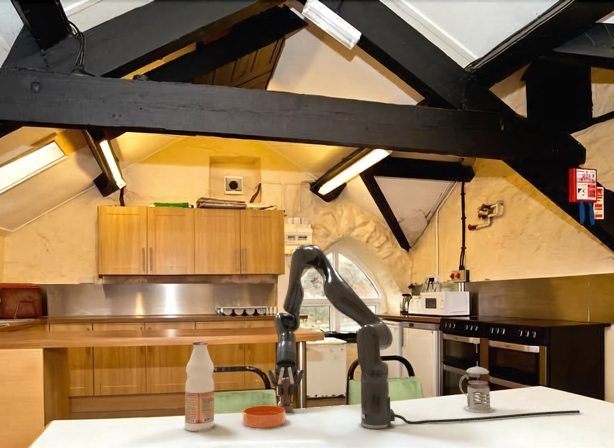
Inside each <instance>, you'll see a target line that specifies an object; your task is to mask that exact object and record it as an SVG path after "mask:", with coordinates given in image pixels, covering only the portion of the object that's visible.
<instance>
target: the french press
mask: <svg viewBox="0 0 614 448" xmlns="http://www.w3.org/2000/svg"><path fill="white" fill-rule="evenodd" d="M473 344H474V345H475V347H476V348H475V349H476V352H478V344H480V341H479V340H478V339H477V340H476V339H475V340H474V341H473ZM478 363H479V362H476V366H473V367H469V368H468V369H466V373H467V374H464V375H462V376H461V377H460V379H459V382H458V383H459V384H458V385H459V390H460V392H461V393H462V394H464V395H465V396H466V403H467V406H466V407H465V408H464V409H465V411H468V412H472V413H476V414H477V413H478V414H489V413H492V412H494V409H493V408H492V407H491V399H490V398H491V396H490V395H491V394H490V393H491V392H490V391H491V390H490V386H489V382H488V381H484V380H478V379H477V380H474V379H473V380H469V377H468V374H472V375H477V377H479V375H488V374H489V373H490V371H489V370H488V369H487V368H484V367H481V366H478ZM465 378H466V380H469V381H468V382H467V383H468V385H467V387H466V388H467V393H465V392H464V391H463V388H462V387H461V384H462V382H463V380H464V379H465Z"/></svg>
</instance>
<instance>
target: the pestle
mask: <svg viewBox="0 0 614 448" xmlns="http://www.w3.org/2000/svg"><path fill="white" fill-rule="evenodd" d="M281 383H282V397H281V402H280V403H278V406H279V407H282V408H284V409H285V414H289V413H293V412H294V404H293V403H292V402H291V397H290V379H289V378H287V377H284V378H283V379H282V381H281Z"/></svg>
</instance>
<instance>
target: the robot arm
mask: <svg viewBox="0 0 614 448" xmlns="http://www.w3.org/2000/svg"><path fill="white" fill-rule="evenodd" d="M291 253H292V254H291V258H290V266H289V276H288V277H289V278H288V286H287V290H286V294H285V298H284V301H283V305H282V309H283V311H285V312H278V313H277V314H275V316H274V318H273V325H274V328H275V332H276V336H277V348H276V362H275V363H276V364H275V365H276V366H275V367H274V369H273V370H271V369H269V370H268V372H267V373H268V377H269V380H270V382H271V384H272V386H273V387H276V388H277V395H278V396H279V397H281V398H282V383H281V381H282V379H283V378H284V377H287V378H289V379H290V398H291V397H292V396H294V393H295V392H294V391H295V390H294V389H295V387H299V385H300V384H301V381H302V379H303V378H304V376H305V371H304V369H301V370H300V369H298V367H297V346H296V345H297V343H296V342H297V341H296V339H297V337H296V332H297V331H298V330H299V329H300V326H301V317H300V316H301V307H302V305H303V302H304V298H305V291H304V287H303V283H302V275H303V273H304V271H307V270H315V271H316V272H317V273H318V274H319V275H320V277H321V279H322V287H323V294H324V296H325V297H326V299H327V300H328V301H329V303H330V304H331V305H332V306H333V308H335V309H336V311H338V312H339V313H341V314H342V315H344V316H346V318H349V320H350V319H351V320H352V321H353V322H354V323H356V324H357V325H358V326H359V328H358V330H357V332H356V333H357V335H356V350H357V352H356V353H357V362H358V365H359V368H360V426H362V427H363V428H366V429H371V430H372V429H373V430H380V429H388V428H392V422H396V418H398V419H400V420H402V421H403V422H404V423H406V424H409V425H421V424H432V423H433V424H434V423H435V424H436V423H455V422H456V423H457V422H471V421H485V420H486V421H487V420H497V419H508V418H520V417H521V418H522V417H532V416H547V415H563V414H565V415H566V414H580V413H581V411H580V410H579V409H576V410H574V409H573V410H553V411H540V412H539V411H538V412H526V413H515V414H513V413H512V414H501V415H490V416H478V417H463V418H445V419H442V418H441V419H423V420H416V421H415V420H414V421H413V420H408V419H407V418H406V417H404V416H402V415H400V414H396V412H395V411H394V410H393V409H392V408H391V396H390V386H389V383H390V382H389V364H388V363H387V362H386V361H383V360H382V357H381V351H385V350H387V349H389V348H390V347H392V344H393V341H394V340H393V339H394V338H393V333H392V330H391V329H390V327H389V326H388V325H387V323H385V322H384V321H383V320H382V319H381V318H380V317H379V316H378V315H377V314H375V313H374V312H373V311H372V310H371V308H370V307H369V306H368V305H367V304H366V303H365V302H364V301H363V299H361V297H360V296H359V295H358V294H357V292H356V291H355V290H354V289H353V288H352V287H351V285H350V284H349V283H348V282H347V281H346V280H345V279H344V278H343V277H342V276H341V274H340V273H339V272H338V270H337V269H336V268H335V267H334V265H333V264H332V263H331V261H330V259H329V258H328V257H327V255H326V253H324V251H323V250H322V249H321V247H320V246H318V245H317V244H305V245H300V246H296V247H295V248H294V249H293V250H292V252H291ZM296 374H297V377H296V379H295V380H294V377H295V375H296ZM275 375H277V377H278V381H277V379H276V377H275Z"/></svg>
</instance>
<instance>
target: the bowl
mask: <svg viewBox="0 0 614 448" xmlns="http://www.w3.org/2000/svg"><path fill="white" fill-rule="evenodd" d="M241 415H242V417H241V418H242V424H243V425H244V426H246V427H249V428H255V429H268V428H275V427H280V426H282V425H284V424H285V423H286V413H285V409H284V408H282V407H279V405H271V404H267V405H266V404H263V405H253V406H249V407H246V408H244V409H242V414H241Z"/></svg>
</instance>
